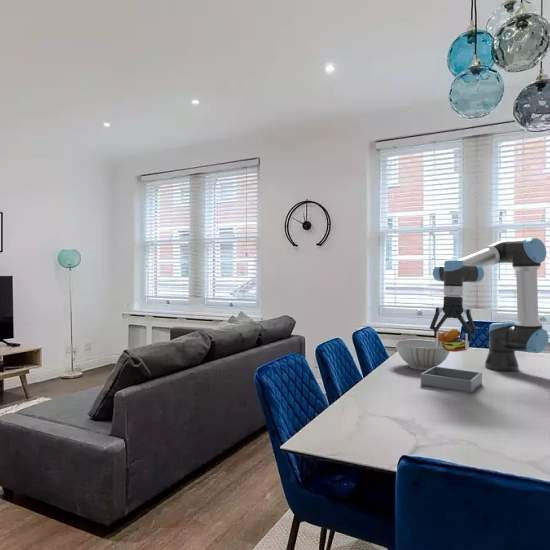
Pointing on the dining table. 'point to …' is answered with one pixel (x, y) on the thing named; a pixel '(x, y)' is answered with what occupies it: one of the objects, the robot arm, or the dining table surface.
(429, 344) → the decorative bowl
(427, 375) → the bin
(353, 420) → the dining table surface
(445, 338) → the cheeseburger
